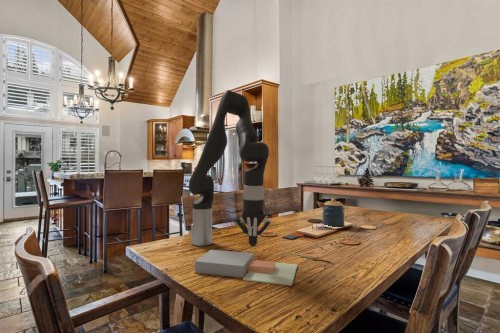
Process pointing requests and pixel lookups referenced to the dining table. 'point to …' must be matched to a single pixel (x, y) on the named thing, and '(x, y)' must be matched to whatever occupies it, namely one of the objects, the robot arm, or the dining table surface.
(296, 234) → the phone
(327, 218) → the lidded jar
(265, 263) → the block
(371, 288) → the dining table surface
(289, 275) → the mat
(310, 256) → the sword
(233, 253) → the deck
